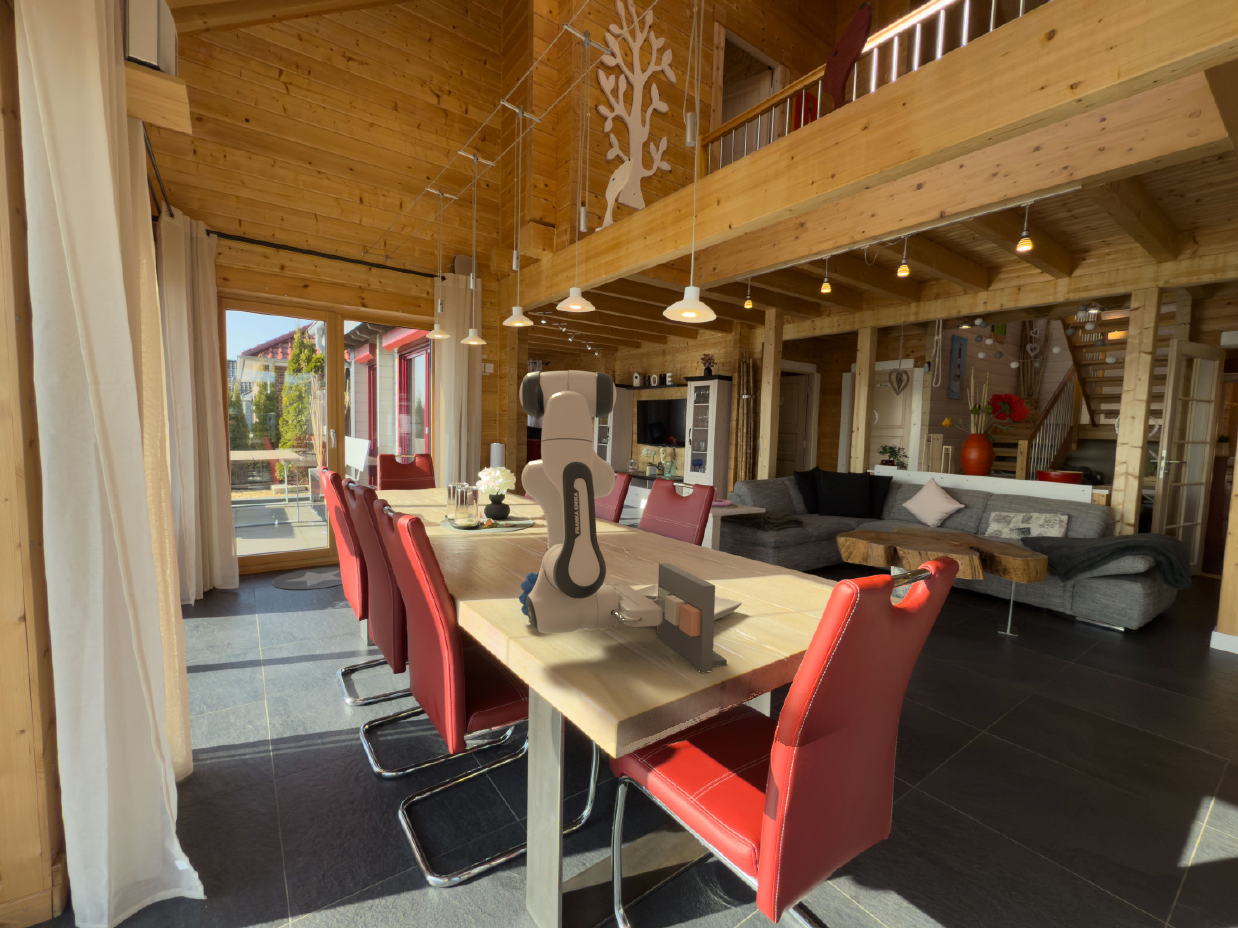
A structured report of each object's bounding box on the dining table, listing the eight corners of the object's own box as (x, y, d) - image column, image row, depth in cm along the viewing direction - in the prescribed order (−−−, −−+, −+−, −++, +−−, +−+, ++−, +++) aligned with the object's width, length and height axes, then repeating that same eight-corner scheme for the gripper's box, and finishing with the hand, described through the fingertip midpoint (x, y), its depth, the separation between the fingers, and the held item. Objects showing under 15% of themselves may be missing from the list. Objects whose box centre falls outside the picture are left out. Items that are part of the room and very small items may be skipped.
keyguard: (656, 637, 126) (658, 563, 125) (684, 634, 129) (686, 561, 128) (701, 673, 107) (703, 586, 107) (732, 668, 110) (735, 583, 109)
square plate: (691, 643, 124) (691, 625, 124) (597, 617, 141) (597, 602, 141) (742, 614, 146) (743, 599, 146) (655, 594, 162) (656, 581, 162)
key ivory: (664, 618, 118) (665, 595, 118) (681, 616, 119) (681, 594, 119) (674, 625, 113) (675, 602, 113) (692, 623, 115) (692, 600, 115)
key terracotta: (679, 628, 112) (679, 604, 112) (696, 626, 113) (697, 603, 113) (690, 636, 107) (691, 612, 107) (708, 634, 109) (709, 610, 109)
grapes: (537, 628, 130) (538, 578, 129) (512, 625, 132) (512, 575, 132) (559, 614, 141) (559, 567, 140) (535, 611, 143) (536, 565, 143)
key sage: (658, 608, 125) (658, 587, 124) (674, 606, 126) (674, 585, 126) (667, 614, 120) (668, 593, 120) (684, 613, 122) (684, 591, 121)
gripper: (622, 606, 107) (686, 600, 112) (589, 579, 126) (644, 575, 131) (622, 638, 108) (685, 630, 113) (588, 607, 127) (644, 602, 132)
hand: (663, 600), depth 122 cm, fingers closed, pressing on key sage
